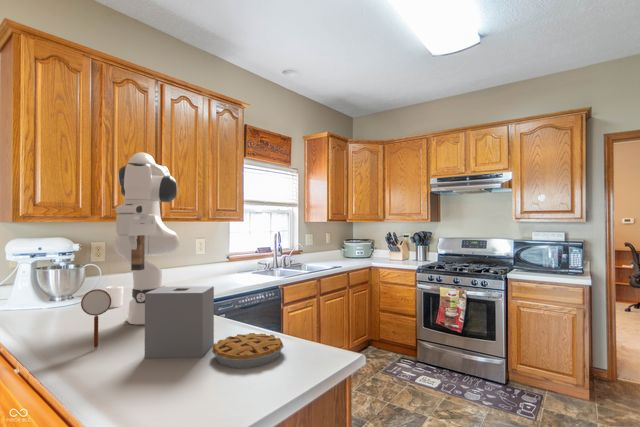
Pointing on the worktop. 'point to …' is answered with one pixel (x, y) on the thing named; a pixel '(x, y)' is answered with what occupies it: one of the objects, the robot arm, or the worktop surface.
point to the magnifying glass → (96, 307)
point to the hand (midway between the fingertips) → (137, 249)
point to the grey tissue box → (179, 322)
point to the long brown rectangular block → (138, 254)
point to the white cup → (115, 295)
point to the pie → (247, 350)
